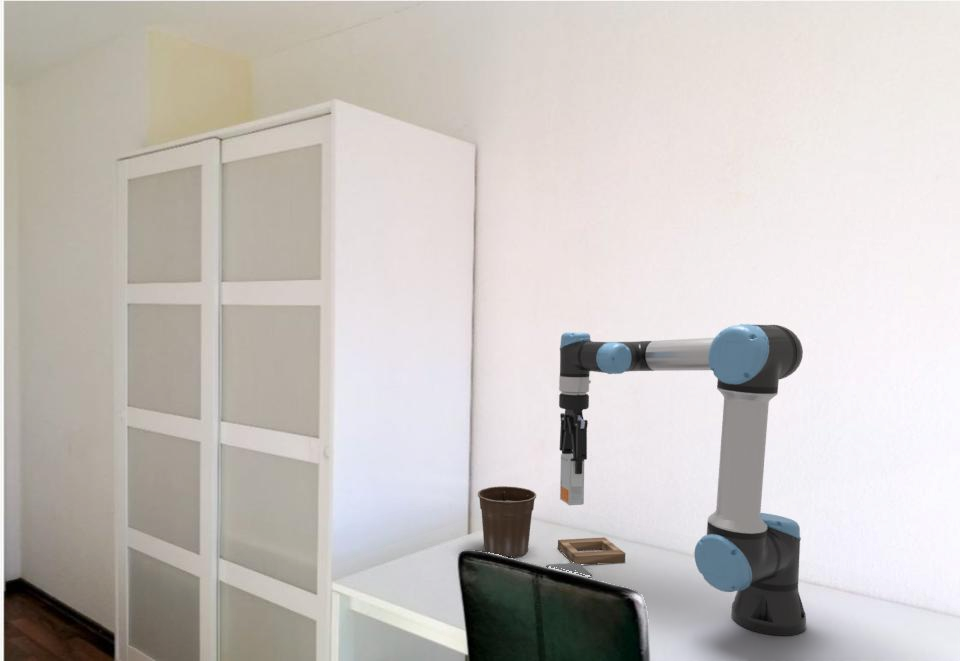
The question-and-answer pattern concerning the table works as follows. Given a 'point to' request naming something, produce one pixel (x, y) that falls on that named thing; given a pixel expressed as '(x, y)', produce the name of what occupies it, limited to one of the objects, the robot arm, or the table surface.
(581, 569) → the mat
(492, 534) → the plant pot
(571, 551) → the frame
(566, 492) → the skincare box
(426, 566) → the table surface
